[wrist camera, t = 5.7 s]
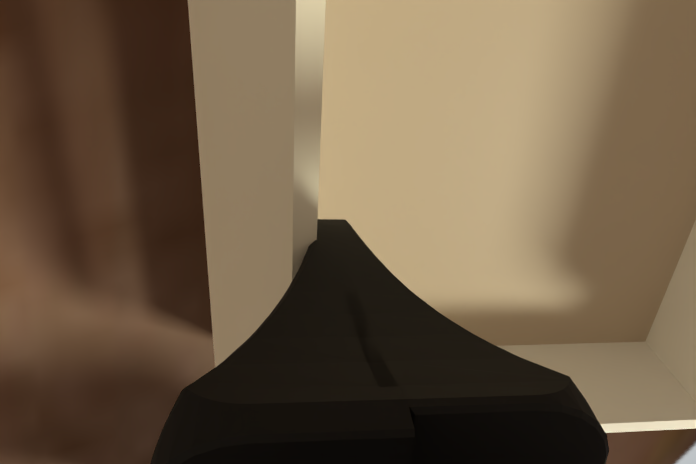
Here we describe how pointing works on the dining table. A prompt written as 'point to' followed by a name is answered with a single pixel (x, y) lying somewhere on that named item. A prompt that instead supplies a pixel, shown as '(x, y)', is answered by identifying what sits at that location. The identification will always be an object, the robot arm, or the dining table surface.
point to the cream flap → (256, 151)
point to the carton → (530, 180)
